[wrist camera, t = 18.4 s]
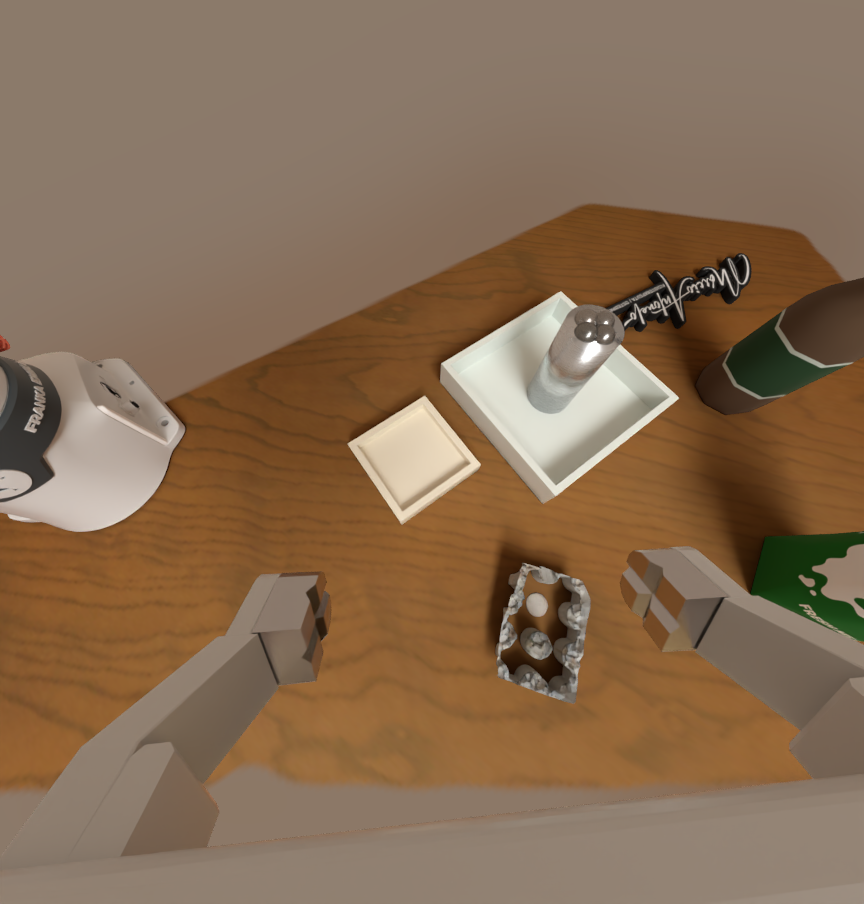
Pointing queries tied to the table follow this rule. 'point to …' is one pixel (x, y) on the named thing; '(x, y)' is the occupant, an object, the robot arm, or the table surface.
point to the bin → (540, 434)
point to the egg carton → (538, 642)
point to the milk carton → (816, 579)
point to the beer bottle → (788, 350)
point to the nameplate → (683, 293)
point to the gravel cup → (574, 357)
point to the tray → (414, 458)
